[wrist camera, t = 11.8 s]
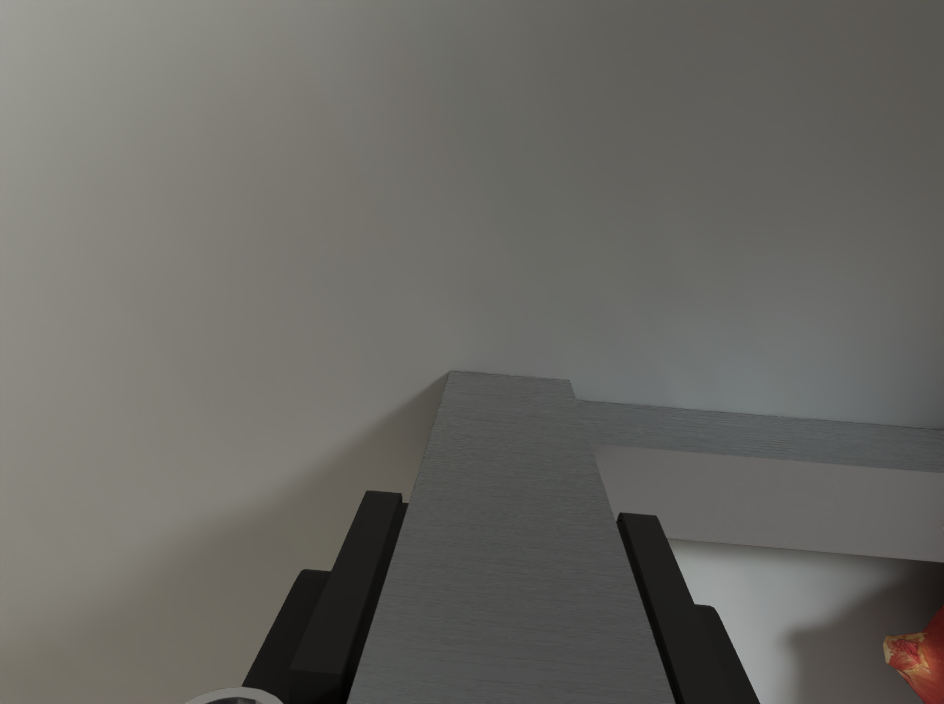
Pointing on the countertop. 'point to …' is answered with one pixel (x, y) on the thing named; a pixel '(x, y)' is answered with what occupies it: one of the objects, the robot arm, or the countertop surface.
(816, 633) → the countertop surface
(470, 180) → the countertop surface
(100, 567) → the countertop surface
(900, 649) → the onion
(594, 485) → the grey angled piece
